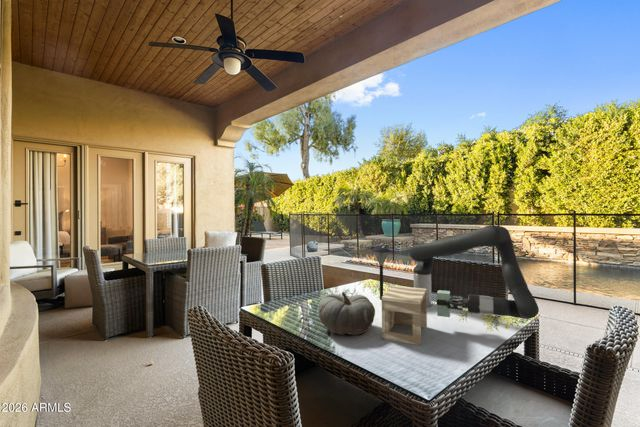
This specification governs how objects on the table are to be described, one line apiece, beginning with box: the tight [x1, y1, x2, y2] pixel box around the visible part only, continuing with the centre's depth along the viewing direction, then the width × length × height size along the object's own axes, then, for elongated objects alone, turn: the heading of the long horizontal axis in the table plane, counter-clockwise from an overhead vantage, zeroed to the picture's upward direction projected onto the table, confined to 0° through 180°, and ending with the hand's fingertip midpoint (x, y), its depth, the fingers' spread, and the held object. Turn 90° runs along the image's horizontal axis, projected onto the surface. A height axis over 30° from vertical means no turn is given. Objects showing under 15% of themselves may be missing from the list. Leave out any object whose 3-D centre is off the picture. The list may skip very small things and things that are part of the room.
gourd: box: [318, 291, 376, 336], centre depth 141 cm, size 25×25×17 cm
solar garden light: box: [370, 246, 392, 301], centre depth 185 cm, size 12×12×30 cm
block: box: [436, 289, 451, 318], centre depth 139 cm, size 5×5×10 cm
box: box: [381, 285, 428, 346], centre depth 136 cm, size 20×15×17 cm
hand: (437, 300), depth 140 cm, fingers closed on block, 5 cm apart
